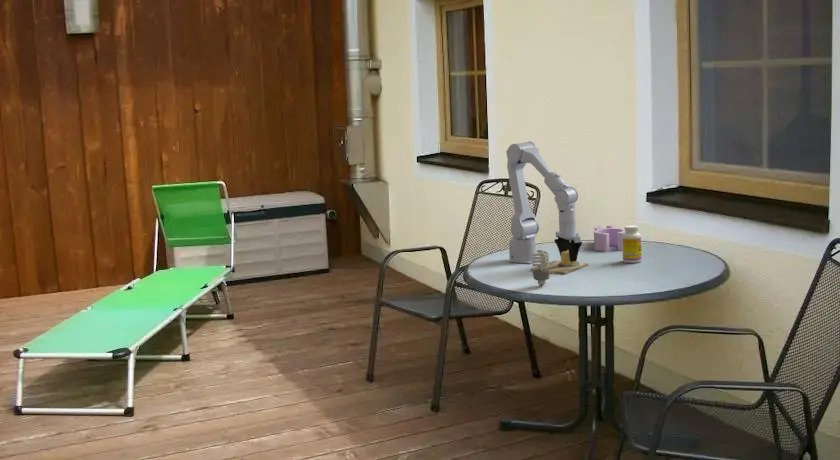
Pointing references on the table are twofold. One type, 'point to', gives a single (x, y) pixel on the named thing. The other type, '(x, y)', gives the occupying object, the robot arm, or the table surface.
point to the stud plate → (562, 267)
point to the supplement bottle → (631, 245)
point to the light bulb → (541, 273)
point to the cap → (566, 258)
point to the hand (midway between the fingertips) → (568, 259)
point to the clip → (608, 238)
